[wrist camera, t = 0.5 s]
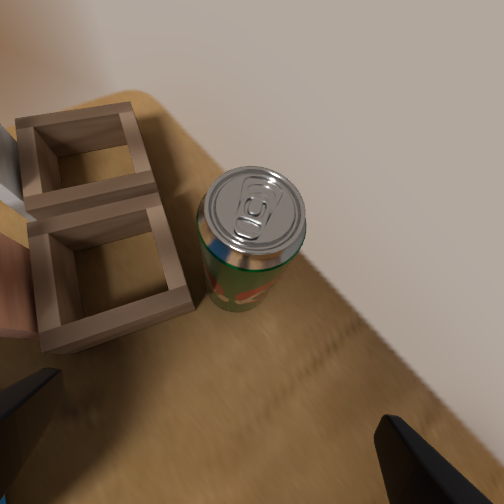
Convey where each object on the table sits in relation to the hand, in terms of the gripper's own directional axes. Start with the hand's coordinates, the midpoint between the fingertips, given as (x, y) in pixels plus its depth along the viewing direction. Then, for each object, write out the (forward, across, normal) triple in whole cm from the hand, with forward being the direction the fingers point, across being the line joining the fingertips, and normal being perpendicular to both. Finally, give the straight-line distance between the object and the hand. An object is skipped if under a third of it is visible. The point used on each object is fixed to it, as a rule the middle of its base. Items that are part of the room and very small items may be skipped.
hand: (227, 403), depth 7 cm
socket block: (+17, +11, +1) cm, 20 cm away
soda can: (+15, 0, +3) cm, 15 cm away
